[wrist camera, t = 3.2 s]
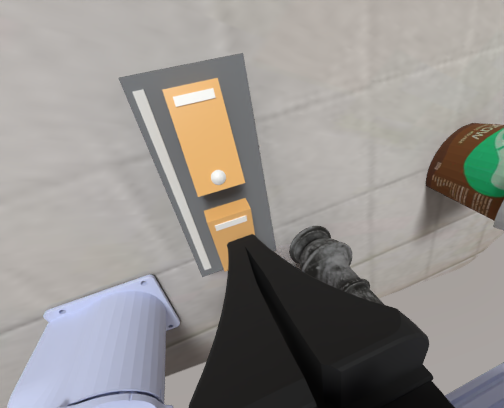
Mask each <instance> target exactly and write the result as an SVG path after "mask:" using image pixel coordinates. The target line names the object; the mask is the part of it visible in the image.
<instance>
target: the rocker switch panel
mask: <svg viewBox="0 0 504 408" xmlns="http://www.w3.org/2000/svg"><path fill="white" fill-rule="evenodd" d="M214 78H218V81H219V85H220V88H221V92H222V96H223V100H224V104H225V107H226V111H227V115H228V119H229V123H230V127H231V130H232V134H233V138H234V142H235V146H236V149H237V153H238V157H239V161H240V165H241V168H242V172H243V176H244V180H245V183H243V184H240V185H237V186H233V187H230V188H227V189H223V190H220V191H217V192H214V193H210V194H207V195H204V196H200V197H198V195H197V192H196V189H195V186H194V184H193V181H192V178H191V175H190V172H189V169H188V166H187V163H186V160H185V157H184V154H183V151H182V148H181V145H180V142H179V139H178V136H177V133H176V130H175V127H174V124H173V121H172V118H171V115H170V112H169V109H168V106H167V103H166V100H165V97H164V94H163V91H162V90H163V89H168V88H172V87H177V86H182V85H186V84H191V83H195V82H200V81H205V80H209V79H214ZM119 81H120V83H121V85H122V88H123V90H124V92H125V95H126V97H127V99H128V102H129V104H130V107H131V109H132V111H133V114H134V116H135V118H136V121H137V123H138V126H139V128H140V130H141V133H142V135H143V137H144V140H145V142H146V144H147V147H148V149H149V152H150V154H151V156H152V159H153V161H154V163H155V166H156V168H157V171H158V173H159V175H160V178H161V180H162V182H163V185H164V187H165V189H166V192H167V194H168V197H169V199H170V201H171V204H172V206H173V208H174V211H175V213H176V215H177V218H178V220H179V223H180V225H181V227H182V230H183V232H184V234H185V237H186V239H187V242H188V244H189V246H190V249H191V251H192V253H193V256H194V258H195V260H196V263H197V265H198V268H199V270H200V272H201V275H202V277H204V276H207V275H210V274H213V273H215V272H218V271H221V270H224V268H223V266H222V263H221V260H220V257H219V255H218V252H217V249H216V246H215V244H214V241H213V238H212V235H211V233H210V230H209V227H208V224H207V221H206V217H205V214H204V211H205V210H208V209H211V208H214V207H218V206H221V205H224V204H227V203H230V202H234V201H237V200H240V199H243V198H246V200H247V202H248V204H249V206H250V208H251V212H252V219H253V225H254V232H255V236H256V237H257V238H258V239H259V240H260V241H261V242H263V243H264V244H265V245H266V246H267V247H268V248H270V249H271V250H272V251H276V246H275V240H274V234H273V228H272V222H271V216H270V210H269V204H268V198H267V192H266V186H265V180H264V174H263V169H262V163H261V157H260V151H259V145H258V139H257V133H256V127H255V121H254V115H253V109H252V103H251V97H250V91H249V86H248V80H247V74H246V68H245V62H244V56H243V53H240V54H235V55H230V56H225V57H220V58H215V59H210V60H205V61H200V62H195V63H190V64H185V65H180V66H175V67H170V68H165V69H160V70H155V71H150V72H145V73H140V74H135V75H130V76H125V77H120V78H119Z"/></svg>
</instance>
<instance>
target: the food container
mask: <svg viewBox="0 0 504 408" xmlns="http://www.w3.org/2000/svg"><path fill="white" fill-rule="evenodd" d="M426 186H427V187H429V188H431V189H433V190H435V191H437V192H439V193H441V194H443V195H445V196H447V197H449V198H451V199H453V200H455V201H457V202H459V203H461V204H463V205H465V206H467V207H469V208H471V209H473V210H475V211H477V212H478V213H480V214H482V215H484V216H486V217H488V218H490V219H492V220H494V225H493V227H495V228H498V229H502V230H504V125H499V124H479V123H471V124H468V125H466V126H463V127H462V128H460V129H458V130H457V131H455V132H454V133H453V134H452V135H451V136H450V137H449V138H447V140H446V141H445V142H444V143H443V144H442V145H441V147H440V148H439V149H438V151H437V153H436V154H435V156H434V158H433V160H432V162H431V164H430V166H429V169H428V173H427V178H426Z"/></svg>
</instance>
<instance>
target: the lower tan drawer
mask: <svg viewBox="0 0 504 408" xmlns="http://www.w3.org/2000/svg"><path fill="white" fill-rule="evenodd" d="M204 214H205V217H206V221H207V224H208V227H209V230H210V233H211V235H212V238H213V241H214V244H215V246H216V249H217V252H218V255H219V257H220V260H221V263H222V266H223V268H224V271H228V248H227V244H228V242H231V241H234V240H237V239H239V238H242V237H245V236H248V235H251V234H254V235H255V232H254V225H253V219H252V212H251V208H250V206H249V204H248V202H247V200H246V198H243V199H240V200H237V201H234V202H230V203H227V204H224V205H221V206H218V207H214V208H211V209H208V210H205V211H204Z"/></svg>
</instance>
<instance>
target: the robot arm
mask: <svg viewBox="0 0 504 408" xmlns="http://www.w3.org/2000/svg"><path fill="white" fill-rule="evenodd" d="M227 248H228V278H227V286H226V293H225V299H224V304H223V309H222V313H221V317H220V321H219V325H218V329H217V332H216V336H215V339H214V342H213V345H212V348H211V351H210V354H209V356H208V359H207V362H206V365H205V368H204V370H203V373H202V375H201V378H200V380H199V383H198V385H197V387H196V390H195V392H194V394H193V397H192V399H191V402H190V404H189V408H504V362H503V363H501V364H500V365H498V366H496V367H494V368H493V369H491V370H489V371H487V372H486V373H484V374H482V375H480V376H479V377H477V378H475V379H473V380H471V381H470V382H468V383H466V384H465V385H463V386H461V387H459V388H457V389H456V390H454V391H452V392H451V393H449V394H447V395H445V396H444V395H443V393H442V392H441V391H440V390H439V389H438V388H437V387H436V386H435V384H434V383H433V382H432V381H431V380H433V376H432V374H431V373H430V372H429V371H428V370H427V369H426V368H425V366H424V365H423V361H424V359H425V356H426V353H427V351H428V347H429V340H428V337H427V336H426V334H424V333H423V332H422V331H421V330H420V329H419V328H418V327H417V326H416V325H415V324H414V323H413V322H412V321H411V320H410V319H409V318H407V317H406V316H405V315H403V314H402V313H401V312H400V311H399V310H398V309H396V308H392V307H389V306H386V305H382V304H379V303H376V302H372V301H369V300H366V299H363V298H360V297H357V296H355V295H352V294H349V293H347V292H345V291H342V290H340V289H338V288H335V287H333V286H330V285H328V284H326V283H324V282H322V281H320V280H318V279H316V278H314V277H312V276H310V275H308V274H307V273H305V272H303V271H301V270H300V269H298V268H296V267H295V266H293V265H292V264H290V263H289V262H287V261H286V260H284V259H283V258H281V257H280V256H279V255H277V254H276V253H275V252H273V251H272V250H271V249H270V248H268V247H267V246H266V245H265V244H264V243H263V242H261V241H260V240H259V239H258V238H257V237H256V236H255V235H254V234H251V235H248V236H245V237H242V238H239V239H237V240H234V241H231V242H228V244H227ZM142 281H146V282H142ZM43 317H44V318H45V319H46V320H47V321H48V322H49V323H48V325H47V326H46V328H45V330H44V332H43V334H42V336H41V338H40V340H39V342H38V344H37V346H36V348H35V350H34V352H33V353H32V355H31V357H30V359H29V361H28V363H27V365H26V367H25V369H24V371H23V373H22V375H21V377H20V379H19V380H18V382H17V384H16V386H15V388H14V390H13V392H12V395H11V397H10V400H9V403H8V406H7V408H173V406H172V405H165V404H164V390H165V350H166V331H168V330H170V329H173V328H175V327H177V326H179V325H180V320H179V318H178V316H177V315H176V313H175V311H174V309H173V308H172V306H171V304H170V302H169V301H168V299H167V297H166V296H165V294H164V292H163V290H162V289H161V287H160V285H159V283H158V282H157V280H156V278H155V277H154V276H153V275H146V276H143V277H140V278H138V279H135V280H132V281H129V282H126V283H123V284H120V285H117V286H115V287H112V288H109V289H106V290H103V291H100V292H97V293H94V294H92V295H89V296H86V297H83V298H80V299H77V300H74V301H71V302H69V303H66V304H63V305H60V306H57V307H54V308H51V309H48V310H47V311H46V312H45V313H44V315H43Z"/></svg>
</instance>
